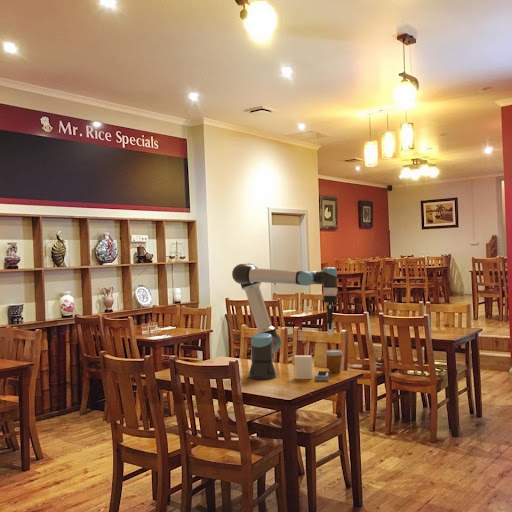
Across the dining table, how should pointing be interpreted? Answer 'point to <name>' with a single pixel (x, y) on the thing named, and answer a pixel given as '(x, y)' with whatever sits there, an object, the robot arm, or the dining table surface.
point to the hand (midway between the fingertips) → (330, 333)
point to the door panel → (303, 367)
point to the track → (322, 376)
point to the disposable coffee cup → (334, 360)
